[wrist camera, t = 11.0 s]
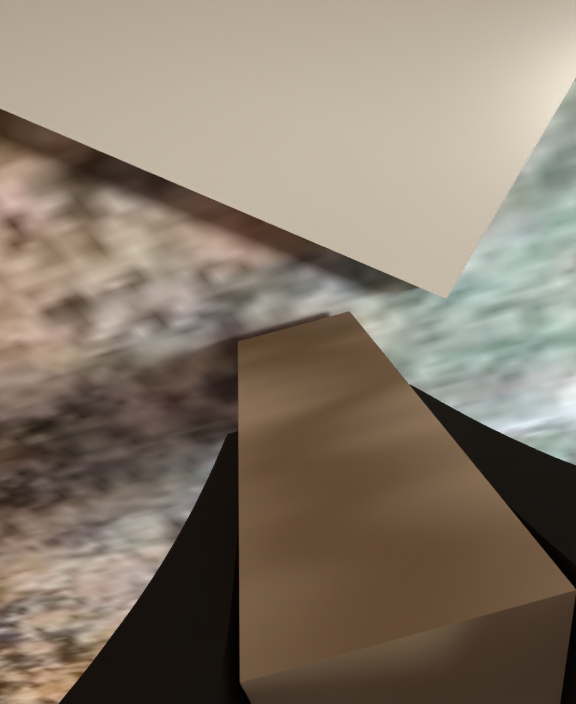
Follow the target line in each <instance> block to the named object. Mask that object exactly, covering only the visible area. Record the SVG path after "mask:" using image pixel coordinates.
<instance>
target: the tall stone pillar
mask: <svg viewBox="0 0 576 704" xmlns="http://www.w3.org/2000/svg"><path fill="white" fill-rule="evenodd" d="M238 447H239V621H240V684H241V686H242V687H243V689H244V691H245V693H246V695H247V696H248V698H249V700H250V702H251V703H252V704H560V701H561V694H562V687H563V680H564V673H565V666H566V659H567V652H568V645H569V638H570V631H571V624H572V617H573V610H574V603H575V596H576V589H575V588H574V586H573V585H572V584H571V583H570V582H569V580H568V579H567V578H566V577H565V575H564V574H563V573H562V572H561V570H560V569H559V568H558V567H557V566H556V564H555V563H554V562H553V561H552V559H551V558H550V557H549V556H548V555H547V553H546V552H545V551H544V550H543V548H542V547H541V546H540V545H539V543H538V542H537V541H536V540H535V539H534V537H533V536H532V535H531V534H530V532H529V531H528V530H527V529H526V528H525V526H524V525H523V524H522V523H521V521H520V520H519V519H518V518H517V516H516V515H515V514H514V513H513V512H512V510H511V509H510V508H509V507H508V505H507V504H506V503H505V502H504V501H503V499H502V498H501V497H500V496H499V494H498V493H497V492H496V491H495V489H494V488H493V487H492V486H491V485H490V483H489V482H488V481H487V480H486V478H485V477H484V476H483V475H482V474H481V472H480V471H479V470H478V469H477V467H476V466H475V465H474V464H473V462H472V461H471V460H470V459H469V458H468V456H467V455H466V454H465V453H464V451H463V450H462V449H461V448H460V447H459V445H458V444H457V443H456V442H455V440H454V439H453V438H452V437H451V435H450V434H449V433H448V432H447V431H446V429H445V428H444V427H443V426H442V424H441V423H440V422H439V421H438V420H437V418H436V417H435V416H434V415H433V413H432V412H431V411H430V410H429V408H428V407H427V406H426V405H425V404H424V402H423V401H422V400H421V399H420V397H419V396H418V395H417V394H416V393H415V391H414V390H413V389H412V388H411V386H410V385H409V384H408V383H407V381H406V380H405V379H404V378H403V377H402V375H401V374H400V373H399V372H398V370H397V369H396V368H395V367H394V366H393V364H392V363H391V362H390V361H389V359H388V358H387V357H386V356H385V354H384V353H383V352H382V351H381V350H380V348H379V347H378V346H377V345H376V343H375V342H374V341H373V340H372V338H371V337H370V336H369V335H368V334H367V332H366V331H365V330H364V329H363V327H362V326H361V325H360V324H359V323H358V321H357V320H356V319H355V318H354V316H353V315H352V314H351V313H350V311H349V312H345V313H342V314H338V315H334V316H330V317H327V318H323V319H319V320H316V321H312V322H308V323H305V324H301V325H297V326H293V327H290V328H286V329H282V330H279V331H275V332H271V333H267V334H264V335H260V336H256V337H253V338H249V339H245V340H241V341H238Z"/></svg>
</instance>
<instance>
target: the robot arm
mask: <svg viewBox="0 0 576 704" xmlns="http://www.w3.org/2000/svg"><path fill="white" fill-rule="evenodd" d="M410 386H411V388H412V389H413V390H414V391H415V393H416V394H417V395H418V396H419V397H420V399H421V400H422V401H423V402H424V404H425V405H426V406H427V407H428V408H429V410H430V411H431V412H432V413H433V415H434V416H435V417H436V418H437V420H438V421H439V422H440V423H441V424H442V426H443V427H444V428H445V429H446V431H447V432H448V433H449V434H450V435H451V437H452V438H453V439H454V440H455V442H456V443H457V444H458V445H459V447H460V448H461V449H462V450H463V451H464V453H465V454H466V455H467V456H468V458H469V459H470V460H471V461H472V462H473V464H474V465H475V466H476V467H477V469H478V470H479V471H480V472H481V474H482V475H483V476H484V477H485V478H486V480H487V481H488V482H489V483H490V485H491V486H492V487H493V488H494V489H495V491H496V492H497V493H498V494H499V496H500V497H501V498H502V499H503V501H504V502H505V503H506V504H507V505H508V507H509V508H510V509H511V510H512V512H513V513H514V514H515V515H516V516H517V518H518V519H519V520H520V521H521V523H522V524H523V525H524V526H525V528H526V529H527V530H528V531H529V532H530V534H531V535H532V536H533V537H534V539H535V540H536V541H537V542H538V543H539V545H540V546H541V547H542V548H543V550H544V551H545V552H546V553H547V555H548V556H549V557H550V558H551V559H552V561H553V562H554V563H555V564H556V566H557V567H558V568H559V569H560V570H561V572H562V573H563V574H564V575H565V577H566V578H567V579H568V580H569V582H570V583H571V584H572V585H573V586H574V588H575V589H576V465H573V464H571V463H568V462H565V461H563V460H560V459H558V458H555V457H553V456H551V455H548V454H546V453H543V452H541V451H539V450H536V449H534V448H532V447H530V446H528V445H525V444H523V443H521V442H519V441H517V440H514V439H512V438H510V437H508V436H506V435H504V434H502V433H500V432H498V431H495V430H493V429H491V428H489V427H487V426H485V425H483V424H481V423H479V422H478V421H476V420H474V419H472V418H470V417H468V416H466V415H464V414H462V413H461V412H459V411H457V410H455V409H453V408H451V407H450V406H448V405H446V404H444V403H442V402H441V401H439V400H437V399H435V398H433V397H432V396H430V395H428V394H426V393H425V392H423V391H421V390H419V389H417V388H416V387H414V386H412V385H410ZM59 704H252V703H251V702H250V700H249V698H248V696H247V695H246V693H245V691H244V689H243V687H242V686H241V684H240V621H239V447H238V431H237V432H233V433H230V434H228V435H227V437H226V438H225V441H224V443H223V445H222V448H221V450H220V452H219V455H218V457H217V459H216V462H215V464H214V466H213V468H212V471H211V473H210V475H209V477H208V479H207V481H206V483H205V485H204V487H203V490H202V492H201V494H200V496H199V498H198V500H197V502H196V504H195V506H194V508H193V510H192V512H191V513H190V515H189V517H188V519H187V521H186V522H185V524H184V526H183V528H182V530H181V531H180V533H179V535H178V537H177V539H176V540H175V542H174V544H173V546H172V547H171V549H170V551H169V552H168V554H167V556H166V557H165V559H164V561H163V562H162V564H161V566H160V567H159V569H158V570H157V572H156V573H155V575H154V577H153V578H152V580H151V581H150V583H149V584H148V586H147V587H146V589H145V590H144V592H143V593H142V595H141V596H140V598H139V599H138V601H137V602H136V604H135V605H134V606H133V608H132V609H131V610H130V612H129V613H128V615H127V616H126V617H125V619H124V620H123V622H122V623H121V624H120V626H119V627H118V628H117V630H116V631H115V632H114V634H113V635H112V636H111V638H110V639H109V640H108V642H107V643H106V644H105V646H104V647H103V648H102V650H101V651H100V652H99V654H98V655H97V656H96V658H95V659H94V660H93V662H92V663H91V664H90V666H89V667H88V668H87V669H86V671H85V672H84V673H83V674H82V676H81V677H80V678H79V679H78V681H77V682H76V683H75V684H74V685H73V687H72V688H71V689H70V690H69V692H68V693H67V694H66V695H65V697H64V698H63V699H62V700H61V701H60V703H59ZM560 704H576V596H575V603H574V610H573V617H572V624H571V631H570V638H569V645H568V652H567V659H566V666H565V673H564V680H563V687H562V694H561V701H560Z"/></svg>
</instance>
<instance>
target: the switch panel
mask: <svg viewBox="0 0 576 704" xmlns="http://www.w3.org/2000/svg"><path fill="white" fill-rule="evenodd" d="M575 78H576V0H0V109H2V110H5V111H7V112H9V113H12V114H14V115H16V116H19V117H21V118H23V119H26V120H28V121H30V122H33V123H35V124H38V125H40V126H42V127H45V128H47V129H49V130H52V131H54V132H56V133H59V134H61V135H63V136H66V137H68V138H70V139H73V140H75V141H77V142H80V143H82V144H84V145H87V146H89V147H91V148H94V149H96V150H98V151H101V152H103V153H106V154H108V155H110V156H113V157H115V158H117V159H120V160H122V161H124V162H127V163H129V164H131V165H134V166H136V167H138V168H141V169H143V170H145V171H148V172H150V173H152V174H155V175H157V176H159V177H162V178H164V179H166V180H169V181H171V182H174V183H176V184H178V185H181V186H183V187H185V188H188V189H190V190H192V191H195V192H197V193H199V194H202V195H204V196H206V197H209V198H211V199H213V200H216V201H218V202H220V203H223V204H225V205H227V206H230V207H232V208H234V209H237V210H239V211H242V212H244V213H246V214H249V215H251V216H253V217H256V218H258V219H260V220H263V221H265V222H267V223H270V224H272V225H274V226H277V227H279V228H281V229H284V230H286V231H288V232H291V233H293V234H295V235H298V236H300V237H302V238H305V239H307V240H310V241H312V242H314V243H317V244H319V245H321V246H324V247H326V248H328V249H331V250H333V251H335V252H338V253H340V254H342V255H345V256H347V257H349V258H352V259H354V260H356V261H359V262H361V263H363V264H366V265H368V266H370V267H373V268H375V269H378V270H380V271H382V272H385V273H387V274H389V275H392V276H394V277H396V278H399V279H401V280H403V281H406V282H408V283H410V284H413V285H415V286H417V287H420V288H422V289H424V290H427V291H429V292H431V293H434V294H436V295H438V296H441V297H443V298H445V299H446V298H447V296H448V295H449V293H450V291H451V290H452V288H453V286H454V284H455V283H456V281H457V279H458V278H459V276H460V274H461V273H462V271H463V269H464V267H465V266H466V264H467V262H468V261H469V259H470V257H471V255H472V254H473V252H474V250H475V249H476V247H477V245H478V244H479V242H480V240H481V238H482V237H483V235H484V233H485V232H486V230H487V228H488V226H489V225H490V223H491V221H492V220H493V218H494V216H495V215H496V213H497V211H498V209H499V208H500V206H501V204H502V203H503V201H504V199H505V197H506V196H507V194H508V192H509V191H510V189H511V187H512V186H513V184H514V182H515V180H516V179H517V177H518V175H519V174H520V172H521V170H522V168H523V167H524V165H525V163H526V162H527V160H528V158H529V156H530V155H531V153H532V151H533V150H534V148H535V146H536V145H537V143H538V141H539V139H540V138H541V136H542V134H543V133H544V131H545V129H546V127H547V126H548V124H549V122H550V121H551V119H552V117H553V116H554V114H555V112H556V110H557V109H558V107H559V105H560V104H561V102H562V100H563V98H564V97H565V95H566V93H567V92H568V90H569V88H570V87H571V85H572V83H573V81H574V80H575Z"/></svg>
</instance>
